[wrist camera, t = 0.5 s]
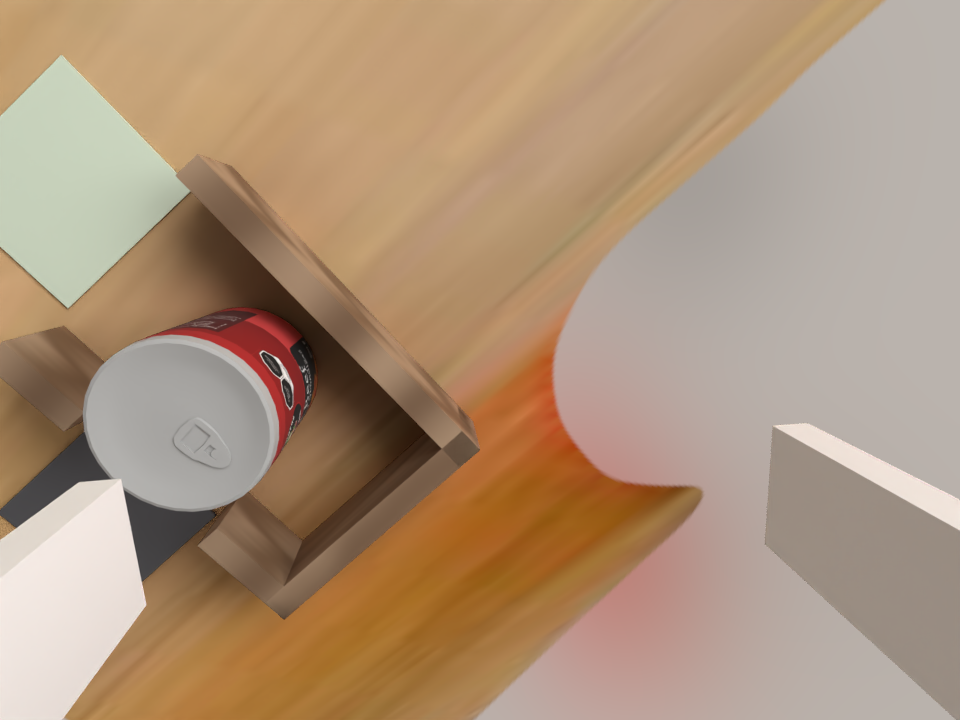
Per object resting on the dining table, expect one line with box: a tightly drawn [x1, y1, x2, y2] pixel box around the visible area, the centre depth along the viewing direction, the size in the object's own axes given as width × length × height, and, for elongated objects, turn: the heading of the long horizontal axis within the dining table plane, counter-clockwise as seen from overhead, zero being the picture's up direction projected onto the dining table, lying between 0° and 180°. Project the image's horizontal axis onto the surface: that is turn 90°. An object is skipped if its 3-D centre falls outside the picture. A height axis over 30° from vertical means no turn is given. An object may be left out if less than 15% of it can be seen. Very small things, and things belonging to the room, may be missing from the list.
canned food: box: [83, 307, 318, 512], centre depth 30 cm, size 8×8×11 cm
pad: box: [0, 55, 191, 308], centre depth 32 cm, size 9×10×1 cm
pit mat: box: [0, 431, 216, 581], centre depth 36 cm, size 9×9×1 cm
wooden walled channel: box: [0, 154, 480, 619], centre depth 33 cm, size 20×15×5 cm
